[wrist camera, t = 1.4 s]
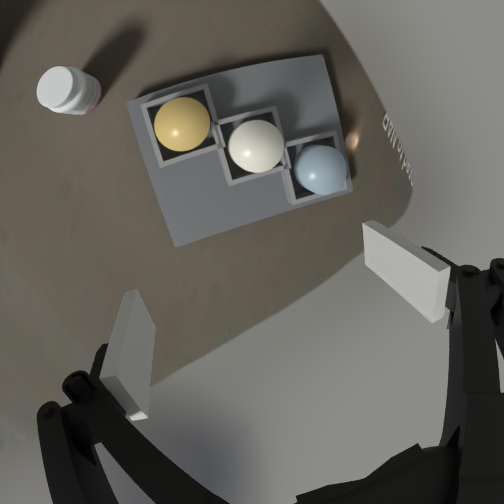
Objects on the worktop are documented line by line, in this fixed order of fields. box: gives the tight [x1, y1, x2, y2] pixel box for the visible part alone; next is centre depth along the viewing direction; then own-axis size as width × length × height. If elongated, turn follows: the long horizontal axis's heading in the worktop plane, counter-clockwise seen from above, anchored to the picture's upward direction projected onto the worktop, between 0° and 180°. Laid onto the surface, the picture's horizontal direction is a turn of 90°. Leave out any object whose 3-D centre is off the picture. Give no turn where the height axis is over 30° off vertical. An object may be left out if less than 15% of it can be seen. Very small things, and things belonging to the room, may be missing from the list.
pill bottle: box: [37, 66, 102, 115], centre depth 23 cm, size 5×5×8 cm
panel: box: [126, 55, 353, 248], centre depth 31 cm, size 17×22×4 cm
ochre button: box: [154, 97, 210, 151], centre depth 26 cm, size 5×5×2 cm
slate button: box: [294, 145, 347, 195], centre depth 30 cm, size 5×5×2 cm
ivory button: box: [228, 120, 284, 173], centre depth 28 cm, size 5×5×2 cm
